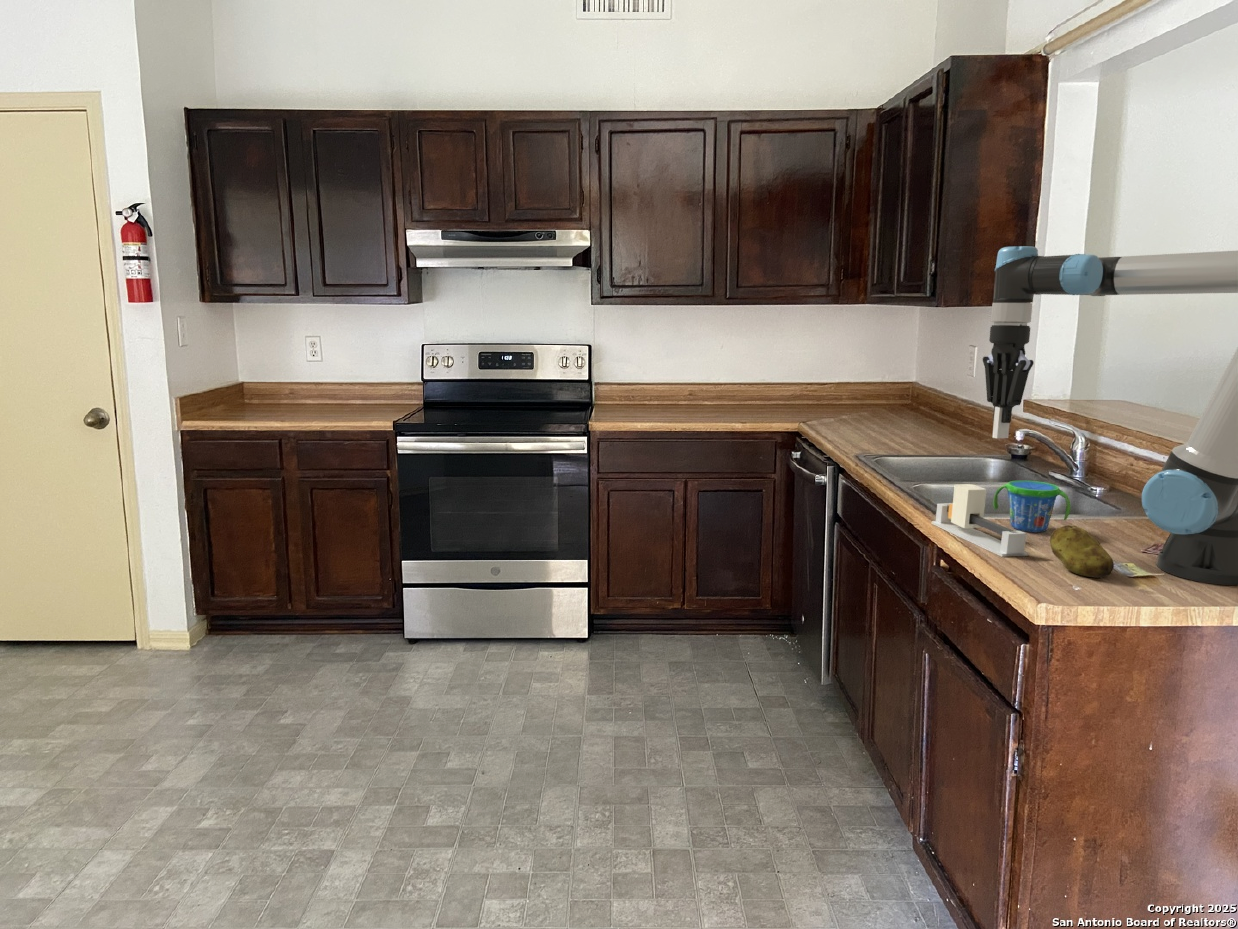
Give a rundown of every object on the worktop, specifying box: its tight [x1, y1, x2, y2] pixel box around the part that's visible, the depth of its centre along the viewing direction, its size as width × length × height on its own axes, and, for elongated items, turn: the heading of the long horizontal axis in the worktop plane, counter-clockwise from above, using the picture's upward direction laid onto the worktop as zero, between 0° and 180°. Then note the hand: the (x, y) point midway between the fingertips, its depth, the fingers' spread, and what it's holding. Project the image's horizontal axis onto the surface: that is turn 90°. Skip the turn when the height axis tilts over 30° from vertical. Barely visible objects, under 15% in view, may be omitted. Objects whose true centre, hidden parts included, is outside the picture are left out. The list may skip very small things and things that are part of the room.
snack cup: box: [993, 479, 1071, 533], centre depth 193 cm, size 16×10×10 cm
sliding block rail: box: [931, 502, 1029, 558], centre depth 184 cm, size 25×6×6 cm, turn 13°
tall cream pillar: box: [951, 483, 987, 529], centre depth 187 cm, size 5×4×8 cm
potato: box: [1049, 525, 1115, 579], centre depth 164 cm, size 8×13×8 cm, turn 177°
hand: (1000, 437), depth 180 cm, fingers closed
